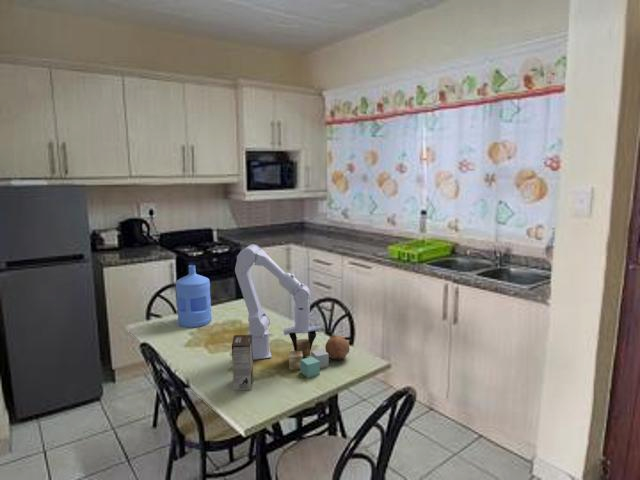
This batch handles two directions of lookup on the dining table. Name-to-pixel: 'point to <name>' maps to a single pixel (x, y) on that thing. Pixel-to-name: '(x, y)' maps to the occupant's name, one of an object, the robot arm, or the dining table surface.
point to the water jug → (193, 300)
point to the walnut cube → (303, 347)
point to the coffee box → (242, 362)
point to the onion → (337, 347)
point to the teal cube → (310, 367)
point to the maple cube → (295, 359)
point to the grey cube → (321, 357)
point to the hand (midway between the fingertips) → (302, 350)
